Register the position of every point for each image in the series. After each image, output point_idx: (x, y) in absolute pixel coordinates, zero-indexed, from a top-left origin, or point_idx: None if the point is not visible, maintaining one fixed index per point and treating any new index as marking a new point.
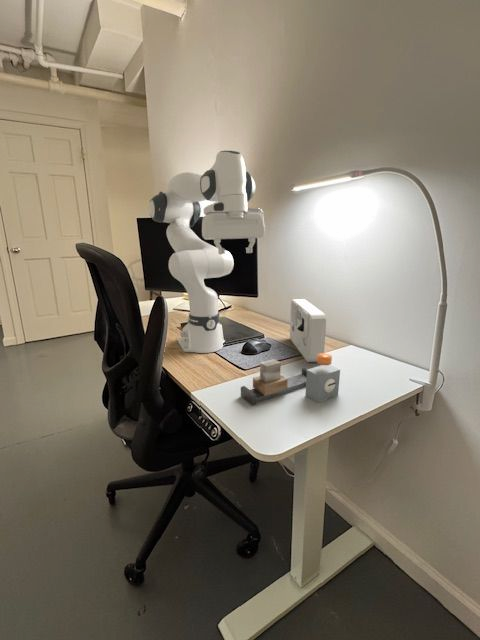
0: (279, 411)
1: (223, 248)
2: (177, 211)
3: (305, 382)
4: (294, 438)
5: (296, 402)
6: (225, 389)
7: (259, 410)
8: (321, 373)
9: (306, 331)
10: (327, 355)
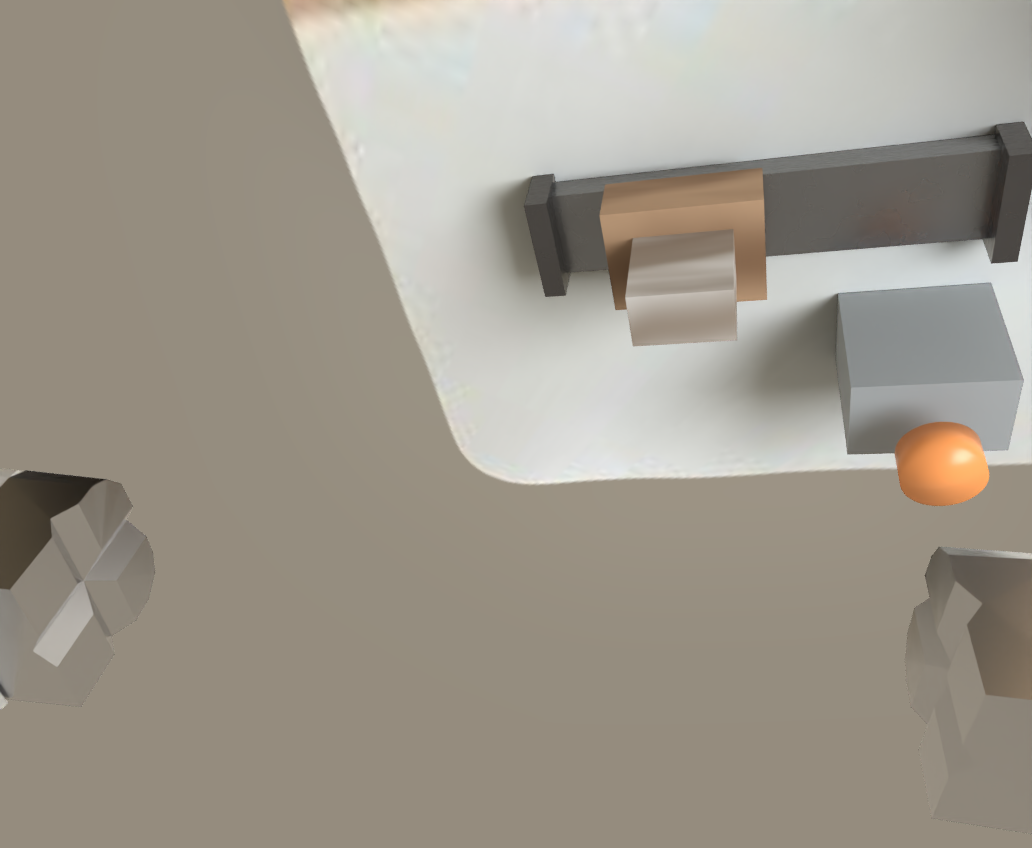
0: None
1: (53, 696)
2: None
3: (914, 243)
4: (597, 462)
5: (751, 321)
6: (478, 73)
7: (565, 306)
8: (881, 440)
9: None
10: (963, 482)
